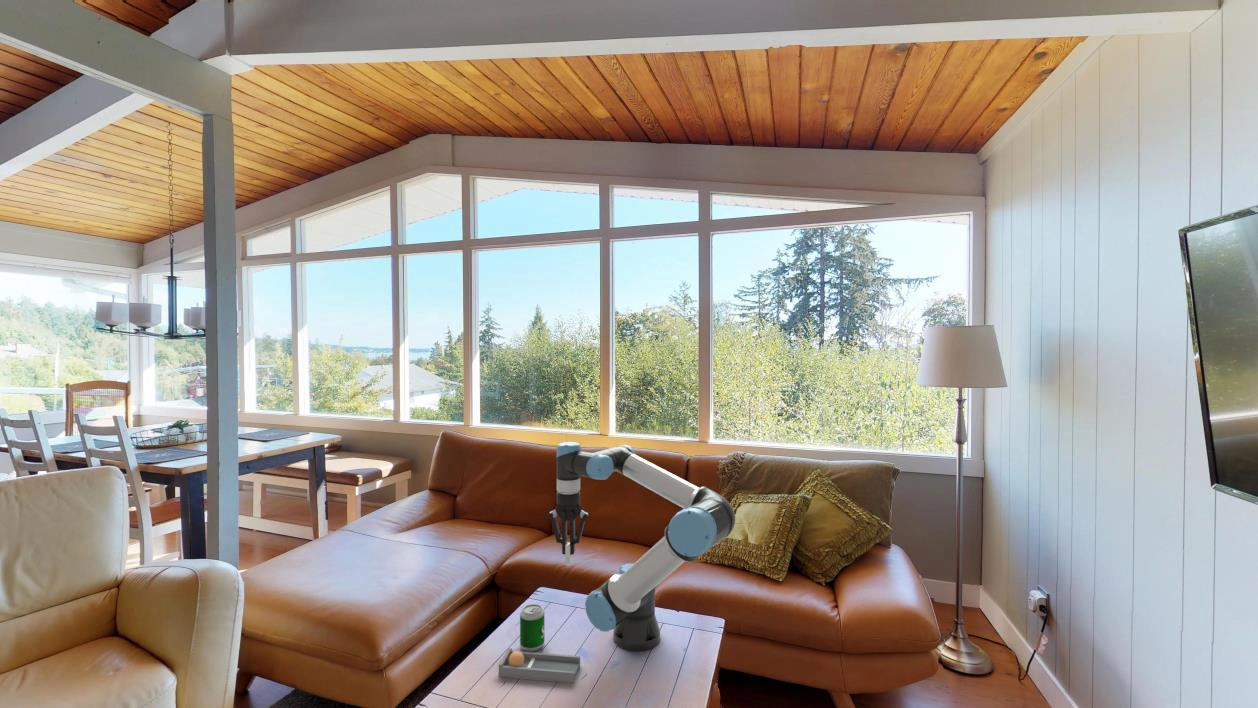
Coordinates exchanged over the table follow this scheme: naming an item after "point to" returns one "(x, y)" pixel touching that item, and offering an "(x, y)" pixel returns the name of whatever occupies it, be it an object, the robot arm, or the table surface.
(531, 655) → the lane
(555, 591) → the table surface
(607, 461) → the robot arm
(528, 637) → the soda can
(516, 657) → the ball
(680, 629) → the table surface
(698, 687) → the table surface
